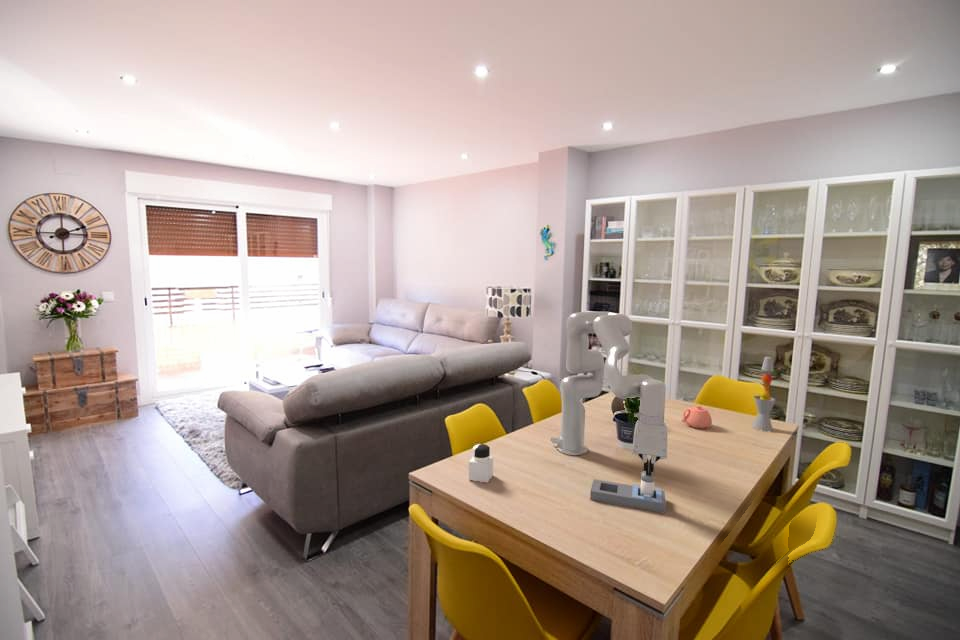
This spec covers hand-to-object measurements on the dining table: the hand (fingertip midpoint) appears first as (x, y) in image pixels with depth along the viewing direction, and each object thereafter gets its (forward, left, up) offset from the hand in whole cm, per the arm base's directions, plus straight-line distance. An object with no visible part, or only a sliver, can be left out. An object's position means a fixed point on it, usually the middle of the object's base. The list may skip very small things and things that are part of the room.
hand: (648, 473), depth 147 cm
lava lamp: (+52, +95, -10) cm, 109 cm away
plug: (0, 0, -10) cm, 10 cm away
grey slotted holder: (-6, 0, -10) cm, 12 cm away
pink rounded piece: (+22, +87, -10) cm, 91 cm away
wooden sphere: (-10, +80, -10) cm, 81 cm away
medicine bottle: (-57, -3, -10) cm, 58 cm away
